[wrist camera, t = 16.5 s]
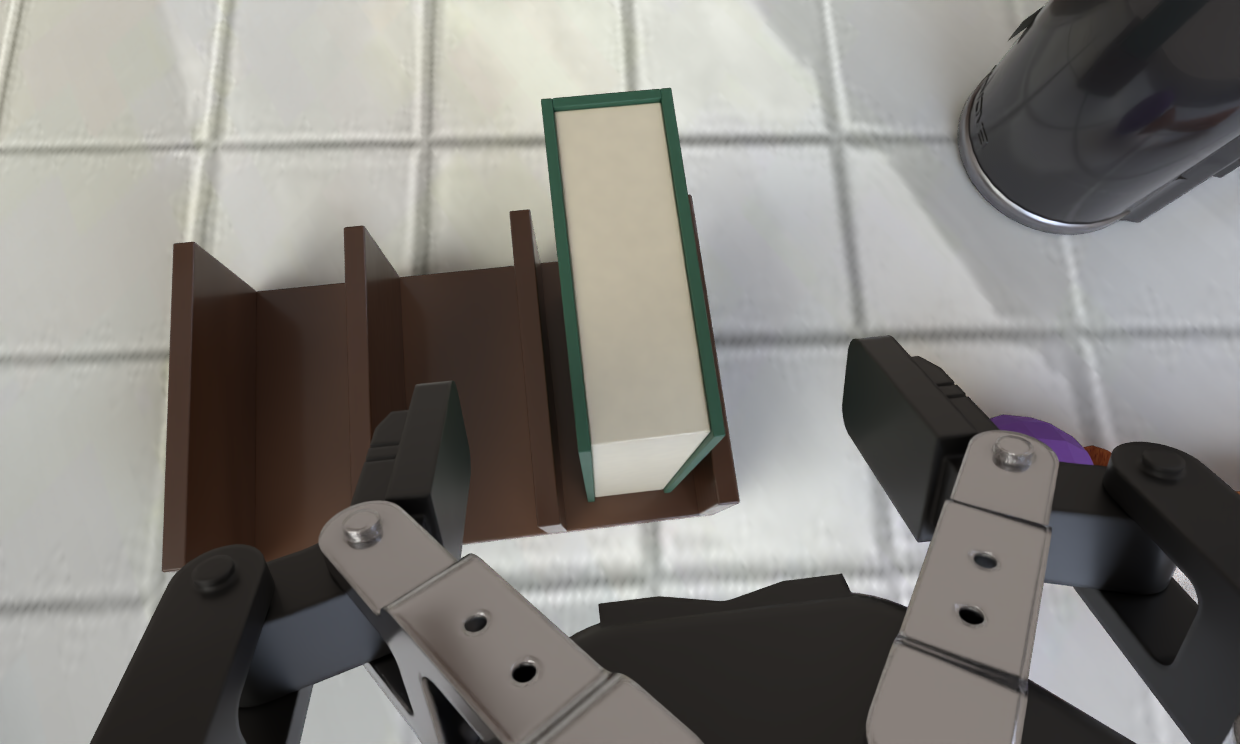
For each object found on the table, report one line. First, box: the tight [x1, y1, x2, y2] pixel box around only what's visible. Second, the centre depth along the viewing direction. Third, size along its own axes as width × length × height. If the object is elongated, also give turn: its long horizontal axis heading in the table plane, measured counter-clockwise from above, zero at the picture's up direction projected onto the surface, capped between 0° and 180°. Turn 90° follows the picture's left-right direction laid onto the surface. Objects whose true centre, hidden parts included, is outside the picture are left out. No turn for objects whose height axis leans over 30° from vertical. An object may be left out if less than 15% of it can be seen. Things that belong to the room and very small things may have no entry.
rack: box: [162, 195, 740, 572], centre depth 30 cm, size 20×12×6 cm, turn 97°
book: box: [541, 88, 726, 502], centre depth 25 cm, size 4×10×14 cm, turn 7°
